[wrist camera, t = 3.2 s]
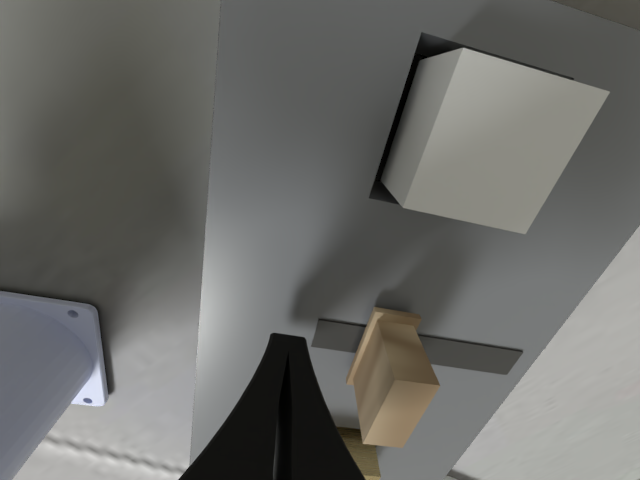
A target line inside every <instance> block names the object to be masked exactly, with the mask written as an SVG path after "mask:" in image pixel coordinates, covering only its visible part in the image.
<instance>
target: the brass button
mask: <svg viewBox="0 0 640 480" xmlns="http://www.w3.org/2000/svg"><path fill="white" fill-rule="evenodd" d="M336 427H337V426H336ZM337 429H338V431H339V433H340V435H341V437H342V439H343V441H344V443H345V445H346V446H347V448H348V450H349V452H350V454H351V456H352V457H353V459H354V461H355V462H356V464H357V466H358V467H359V469H360V471H361V472H362V474H363V476H364V477H365V479H366V480H379V479H380V478H381V474H380V469H379V464H378V458H377V453H376V448H375V445H369V444H363V442H362V436H361V429H355V428H346V427H337Z"/></svg>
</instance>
